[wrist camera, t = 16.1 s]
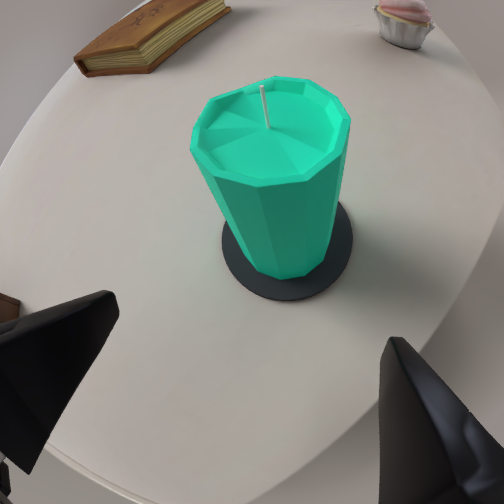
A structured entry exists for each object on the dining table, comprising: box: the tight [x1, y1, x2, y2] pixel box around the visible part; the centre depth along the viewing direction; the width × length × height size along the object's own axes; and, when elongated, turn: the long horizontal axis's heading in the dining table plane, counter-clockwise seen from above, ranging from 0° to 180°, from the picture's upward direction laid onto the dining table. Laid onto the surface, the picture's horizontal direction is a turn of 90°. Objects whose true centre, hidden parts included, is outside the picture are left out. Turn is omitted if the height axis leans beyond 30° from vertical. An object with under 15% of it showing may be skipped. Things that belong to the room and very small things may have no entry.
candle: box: [190, 76, 351, 280], centre depth 14 cm, size 6×6×12 cm
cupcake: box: [373, 0, 435, 49], centre depth 23 cm, size 9×9×10 cm
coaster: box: [222, 202, 353, 301], centre depth 19 cm, size 9×9×1 cm
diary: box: [74, 0, 231, 77], centre depth 35 cm, size 23×19×6 cm
